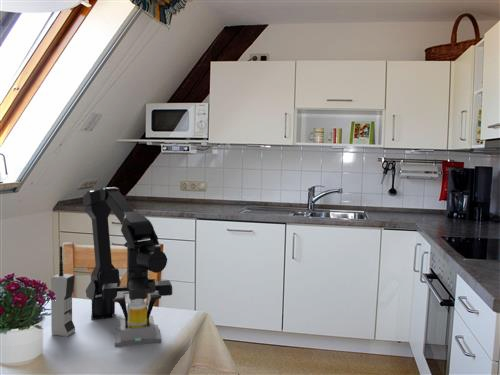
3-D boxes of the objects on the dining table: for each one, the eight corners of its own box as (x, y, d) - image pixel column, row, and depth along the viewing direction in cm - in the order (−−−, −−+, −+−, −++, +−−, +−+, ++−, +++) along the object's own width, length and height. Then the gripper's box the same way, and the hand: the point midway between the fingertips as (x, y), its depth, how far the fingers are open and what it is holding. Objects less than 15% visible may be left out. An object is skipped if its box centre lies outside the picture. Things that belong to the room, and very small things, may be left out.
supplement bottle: (124, 327, 122) (124, 294, 121) (142, 322, 125) (142, 290, 124) (132, 333, 117) (132, 299, 117) (150, 328, 121) (150, 295, 120)
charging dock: (114, 346, 115) (114, 331, 114) (115, 331, 124) (115, 318, 124) (160, 342, 118) (160, 327, 118) (157, 327, 128) (157, 314, 127)
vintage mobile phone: (67, 337, 120) (66, 248, 118) (51, 335, 121) (50, 247, 119) (75, 331, 124) (74, 245, 122) (59, 329, 125) (59, 244, 123)
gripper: (100, 274, 109) (100, 334, 111) (175, 270, 115) (174, 327, 116) (102, 263, 120) (102, 318, 121) (170, 260, 125) (169, 312, 127)
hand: (137, 319), depth 121 cm, fingers closed on supplement bottle, 5 cm apart
